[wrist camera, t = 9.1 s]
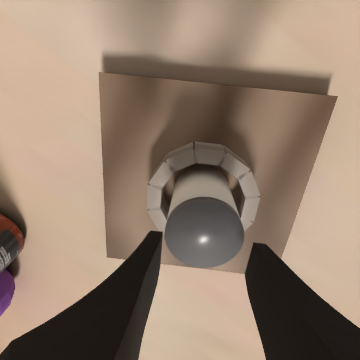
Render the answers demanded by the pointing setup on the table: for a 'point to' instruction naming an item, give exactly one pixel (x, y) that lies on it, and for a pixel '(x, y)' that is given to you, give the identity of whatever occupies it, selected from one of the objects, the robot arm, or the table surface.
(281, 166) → the board with ring socket
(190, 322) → the table surface
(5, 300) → the kendama
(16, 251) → the supplement bottle
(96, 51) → the table surface
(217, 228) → the plug
